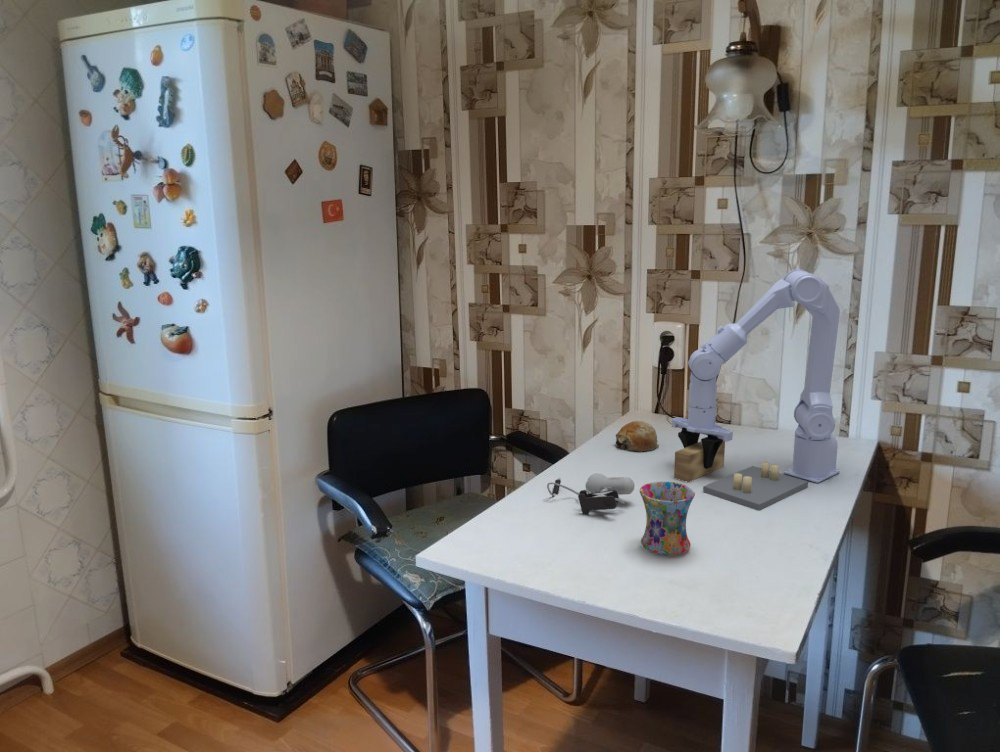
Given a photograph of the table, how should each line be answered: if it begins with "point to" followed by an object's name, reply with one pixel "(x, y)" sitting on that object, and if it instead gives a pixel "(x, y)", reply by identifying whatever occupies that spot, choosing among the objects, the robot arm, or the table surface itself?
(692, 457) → the oak bar
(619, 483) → the clip-on lamp
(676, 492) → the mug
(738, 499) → the peg stand
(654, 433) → the bread roll
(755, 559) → the table surface
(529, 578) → the table surface
